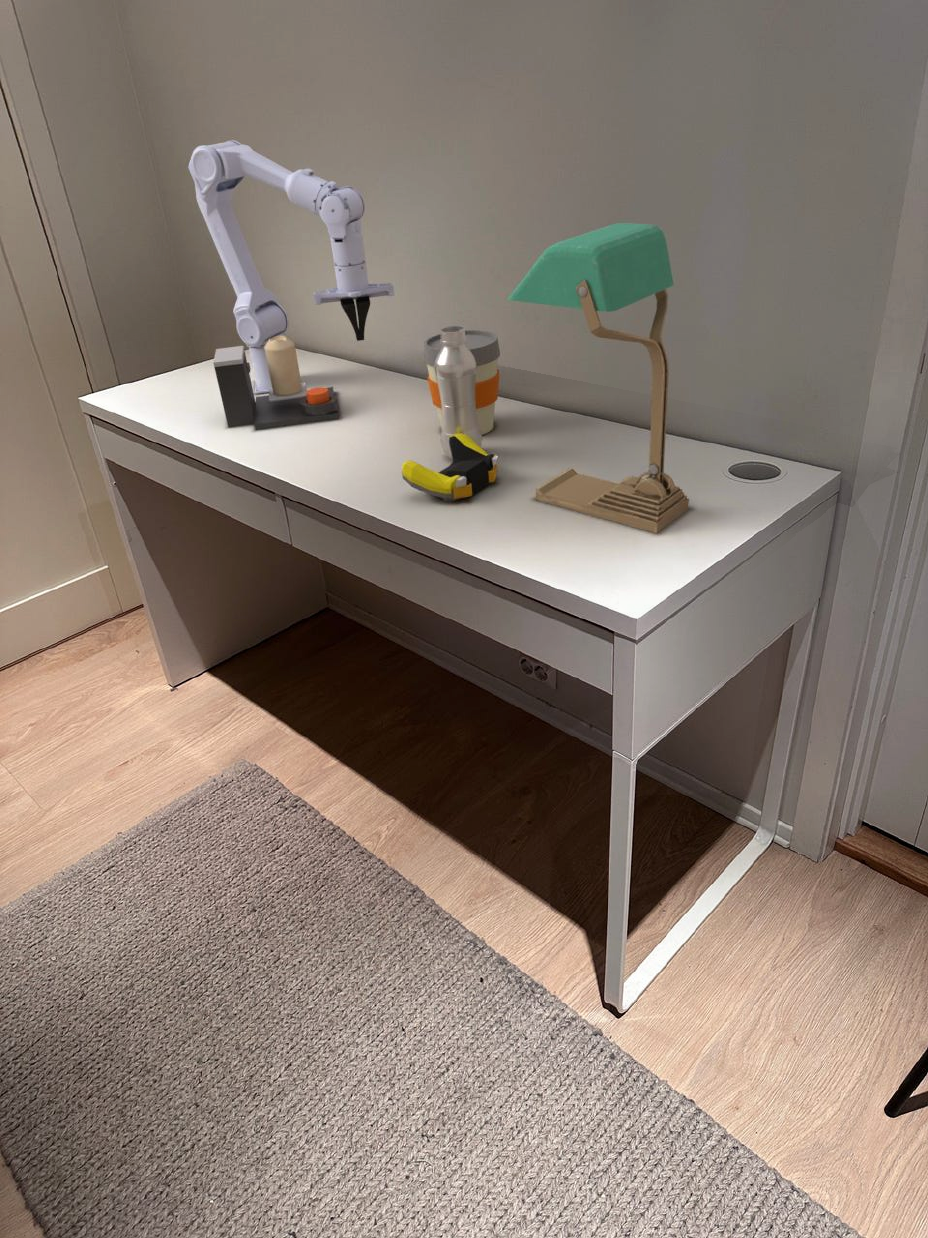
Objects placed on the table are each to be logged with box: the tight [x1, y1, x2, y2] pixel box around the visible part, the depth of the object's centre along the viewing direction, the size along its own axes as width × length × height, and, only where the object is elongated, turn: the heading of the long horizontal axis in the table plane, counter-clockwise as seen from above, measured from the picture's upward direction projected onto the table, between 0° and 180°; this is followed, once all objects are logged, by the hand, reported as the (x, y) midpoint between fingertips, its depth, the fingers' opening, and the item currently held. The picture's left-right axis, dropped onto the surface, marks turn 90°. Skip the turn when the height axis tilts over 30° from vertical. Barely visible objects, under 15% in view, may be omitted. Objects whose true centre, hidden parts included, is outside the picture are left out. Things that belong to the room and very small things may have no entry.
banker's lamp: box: [507, 222, 690, 534], centre depth 112 cm, size 16×21×35 cm
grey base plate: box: [253, 386, 340, 431], centre depth 164 cm, size 16×15×3 cm
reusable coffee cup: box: [423, 329, 501, 436], centre depth 146 cm, size 13×13×15 cm
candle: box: [264, 335, 303, 396], centre depth 162 cm, size 6×6×10 cm
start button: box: [306, 386, 330, 404], centre depth 159 cm, size 4×4×2 cm
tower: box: [212, 345, 308, 428], centre depth 162 cm, size 10×15×12 cm
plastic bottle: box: [434, 325, 483, 459], centre depth 135 cm, size 6×7×20 cm
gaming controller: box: [401, 433, 499, 502], centre depth 129 cm, size 15×6×10 cm
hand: (360, 339), depth 165 cm, fingers closed
